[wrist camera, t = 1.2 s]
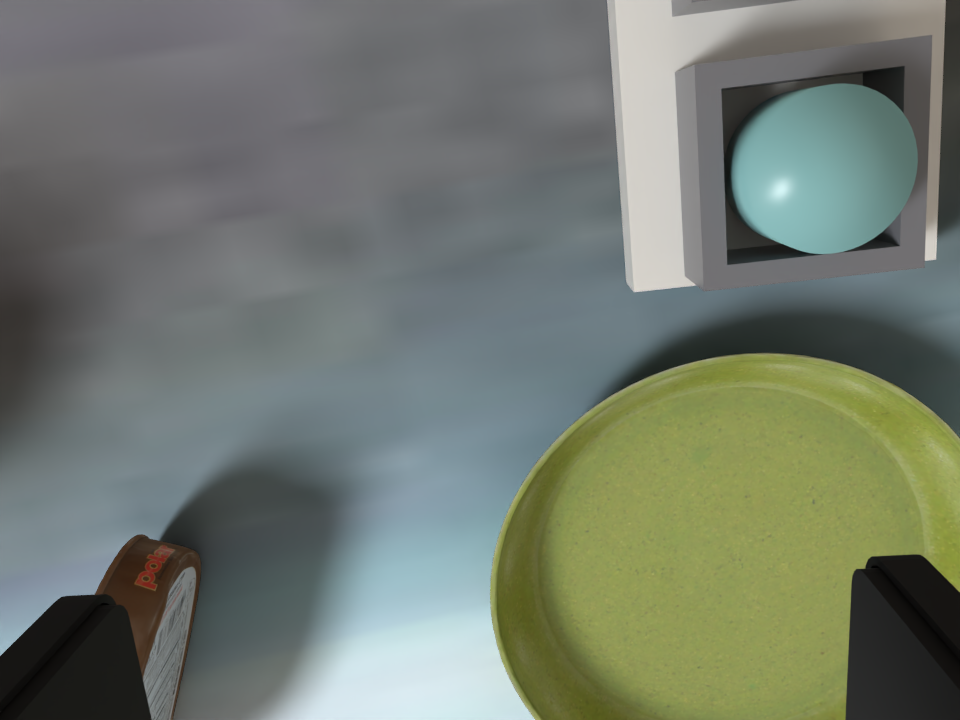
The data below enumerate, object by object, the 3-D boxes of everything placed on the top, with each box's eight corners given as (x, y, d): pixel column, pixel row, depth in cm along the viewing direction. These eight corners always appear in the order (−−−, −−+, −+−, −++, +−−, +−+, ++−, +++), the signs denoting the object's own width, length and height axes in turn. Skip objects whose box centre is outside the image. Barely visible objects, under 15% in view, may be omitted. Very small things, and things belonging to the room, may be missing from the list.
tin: (158, 499, 35) (53, 608, 27) (228, 517, 35) (143, 631, 27) (111, 765, 39) (7, 930, 31) (173, 781, 39) (86, 949, 31)
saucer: (1039, 626, 35) (1089, 673, 32) (637, 817, 39) (648, 875, 36) (832, 237, 31) (868, 248, 28) (402, 491, 35) (391, 526, 32)
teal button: (719, 99, 26) (746, 94, 23) (874, 80, 26) (920, 73, 23) (724, 249, 28) (750, 262, 25) (872, 233, 27) (915, 244, 24)
